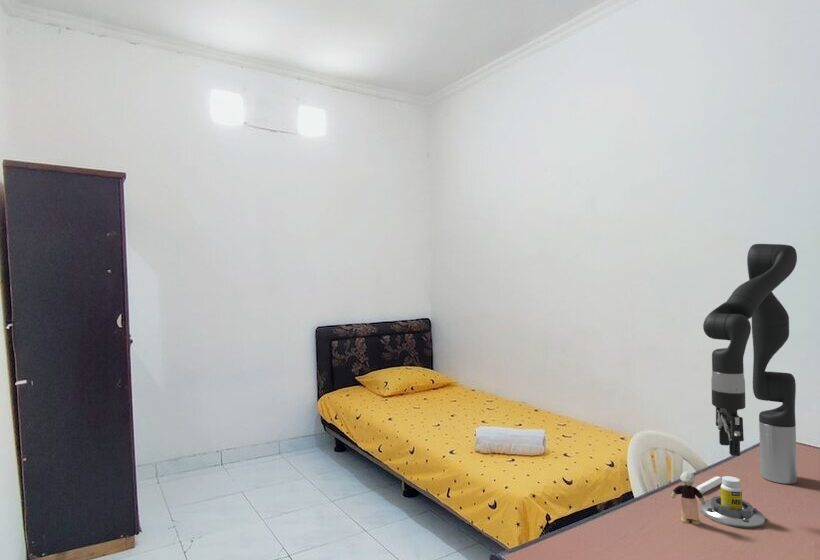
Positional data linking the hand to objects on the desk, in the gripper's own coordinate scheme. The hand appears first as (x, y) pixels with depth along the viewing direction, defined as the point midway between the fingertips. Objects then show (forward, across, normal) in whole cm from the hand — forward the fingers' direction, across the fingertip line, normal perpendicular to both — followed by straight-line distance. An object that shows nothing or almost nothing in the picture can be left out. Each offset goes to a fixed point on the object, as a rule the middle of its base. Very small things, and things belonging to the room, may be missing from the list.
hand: (729, 450), depth 130 cm
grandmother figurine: (+17, -7, +12) cm, 22 cm away
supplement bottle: (+16, 0, 0) cm, 16 cm away
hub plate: (+17, 0, 0) cm, 17 cm away
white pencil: (+18, +17, +1) cm, 25 cm away
